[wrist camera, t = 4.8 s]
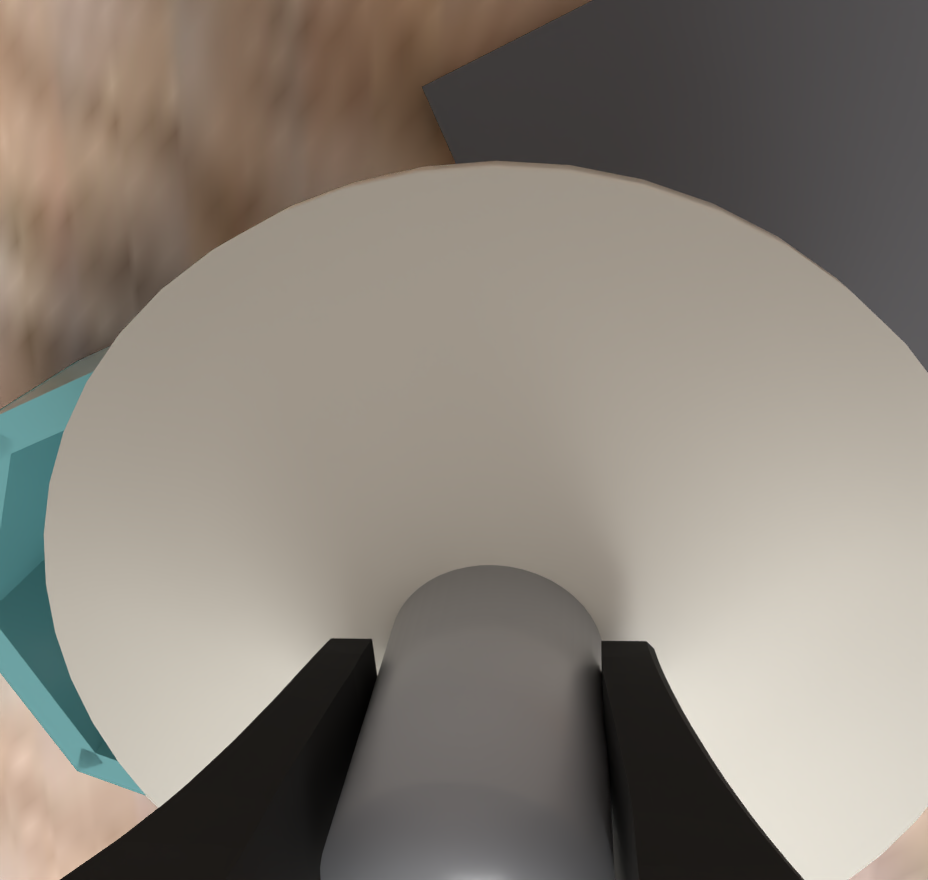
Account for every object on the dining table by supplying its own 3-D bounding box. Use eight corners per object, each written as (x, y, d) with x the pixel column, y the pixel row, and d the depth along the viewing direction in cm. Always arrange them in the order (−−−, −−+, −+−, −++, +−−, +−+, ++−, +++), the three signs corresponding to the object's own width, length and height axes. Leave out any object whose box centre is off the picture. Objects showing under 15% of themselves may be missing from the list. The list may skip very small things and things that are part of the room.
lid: (840, -49, 9) (1064, -124, 5) (1058, 841, 14) (1271, 1193, 10) (-105, 388, 13) (-437, 557, 9) (319, 979, 18) (238, 1278, 14)
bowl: (384, 217, 19) (337, 258, 15) (589, 644, 23) (591, 757, 19) (-30, 410, 22) (-150, 482, 18) (212, 755, 26) (153, 869, 22)
